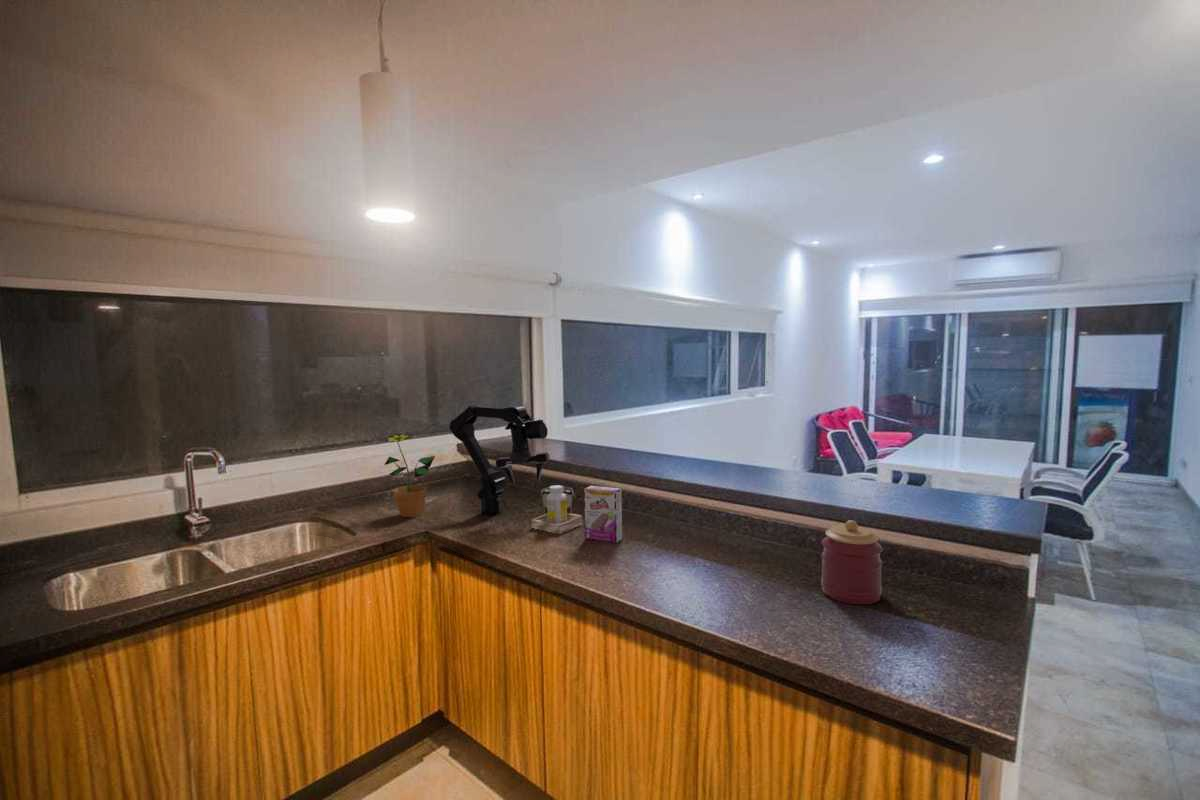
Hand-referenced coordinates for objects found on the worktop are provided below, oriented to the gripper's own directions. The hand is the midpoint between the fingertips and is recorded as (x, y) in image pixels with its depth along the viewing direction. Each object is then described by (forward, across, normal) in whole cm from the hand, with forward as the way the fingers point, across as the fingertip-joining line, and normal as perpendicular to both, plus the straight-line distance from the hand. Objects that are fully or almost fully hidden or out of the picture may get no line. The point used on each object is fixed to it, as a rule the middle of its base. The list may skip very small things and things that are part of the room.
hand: (526, 483), depth 193 cm
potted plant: (+8, -46, +2) cm, 46 cm away
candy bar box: (+17, +28, -23) cm, 40 cm away
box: (+14, +11, -10) cm, 21 cm away
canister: (+25, +89, -60) cm, 110 cm away
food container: (+14, +10, +4) cm, 17 cm away
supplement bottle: (+14, +11, -10) cm, 20 cm away
